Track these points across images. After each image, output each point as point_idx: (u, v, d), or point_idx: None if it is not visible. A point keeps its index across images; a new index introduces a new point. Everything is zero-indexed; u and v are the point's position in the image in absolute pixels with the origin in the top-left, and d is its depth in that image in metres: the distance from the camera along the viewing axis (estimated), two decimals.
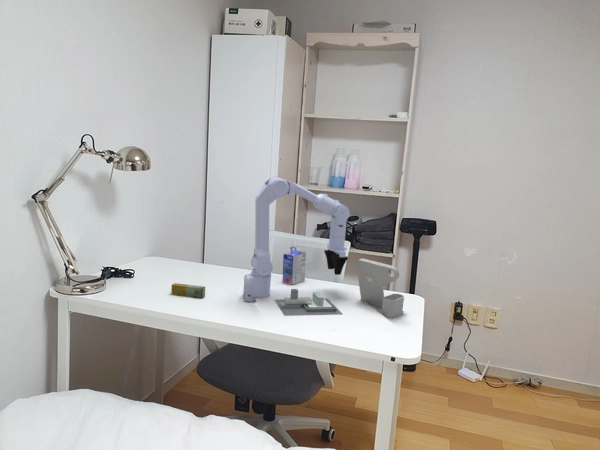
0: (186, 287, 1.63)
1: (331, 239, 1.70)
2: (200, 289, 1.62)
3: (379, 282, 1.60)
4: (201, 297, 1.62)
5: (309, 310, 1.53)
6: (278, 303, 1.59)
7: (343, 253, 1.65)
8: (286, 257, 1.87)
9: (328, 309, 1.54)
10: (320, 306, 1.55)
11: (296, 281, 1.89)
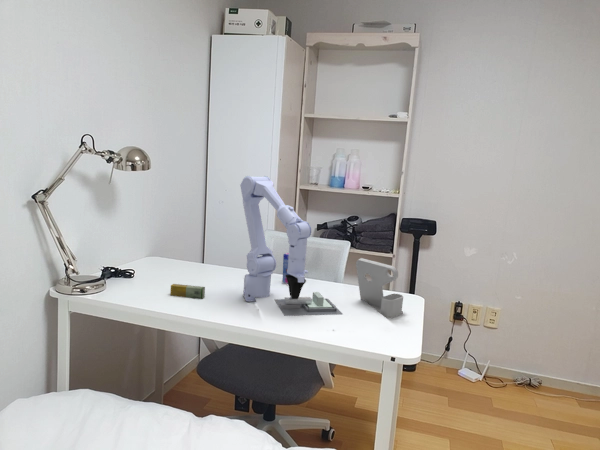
0: (186, 288, 1.62)
1: (290, 262, 1.52)
2: (200, 290, 1.62)
3: (378, 282, 1.61)
4: (201, 297, 1.62)
5: (309, 310, 1.53)
6: (278, 303, 1.59)
7: (302, 278, 1.48)
8: (286, 257, 1.87)
9: (328, 309, 1.54)
10: (320, 306, 1.55)
11: None
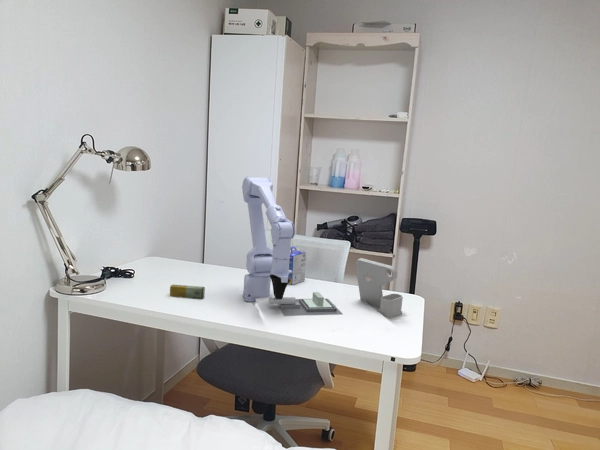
0: (185, 288, 1.62)
1: (273, 261, 1.51)
2: (201, 290, 1.62)
3: (377, 282, 1.61)
4: (201, 297, 1.62)
5: (309, 310, 1.53)
6: None
7: (285, 278, 1.46)
8: None
9: (328, 309, 1.54)
10: (320, 306, 1.55)
11: (296, 281, 1.89)
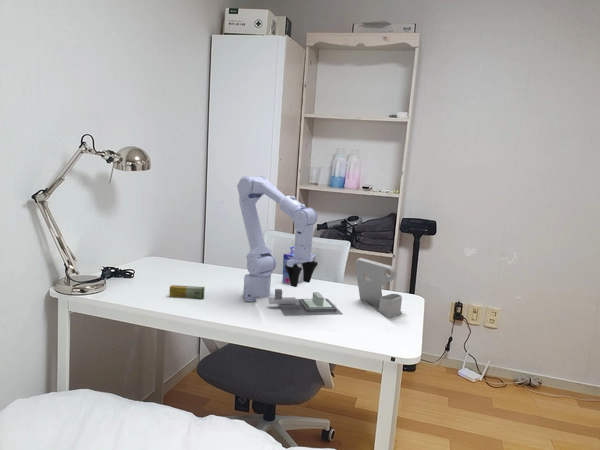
0: (185, 288, 1.61)
1: None
2: (201, 290, 1.61)
3: (377, 282, 1.61)
4: (202, 297, 1.62)
5: (309, 310, 1.53)
6: None
7: (289, 262, 1.48)
8: (286, 257, 1.87)
9: (328, 309, 1.54)
10: (320, 306, 1.55)
11: None
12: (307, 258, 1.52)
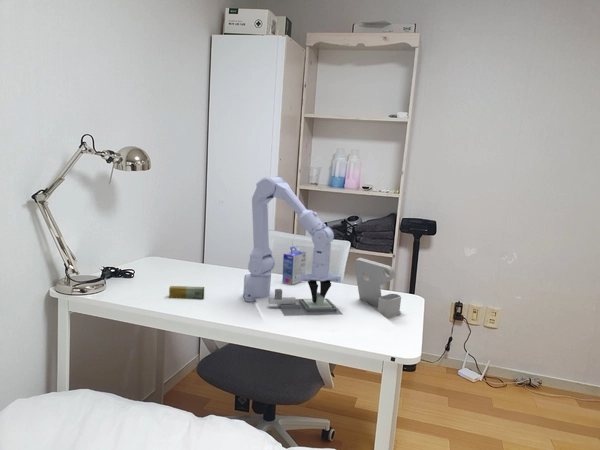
0: (185, 289, 1.61)
1: None
2: (201, 290, 1.61)
3: (376, 282, 1.61)
4: (202, 298, 1.62)
5: (309, 310, 1.53)
6: None
7: (299, 277, 1.55)
8: (286, 257, 1.87)
9: (328, 309, 1.54)
10: (320, 306, 1.55)
11: (296, 281, 1.89)
12: (319, 277, 1.54)
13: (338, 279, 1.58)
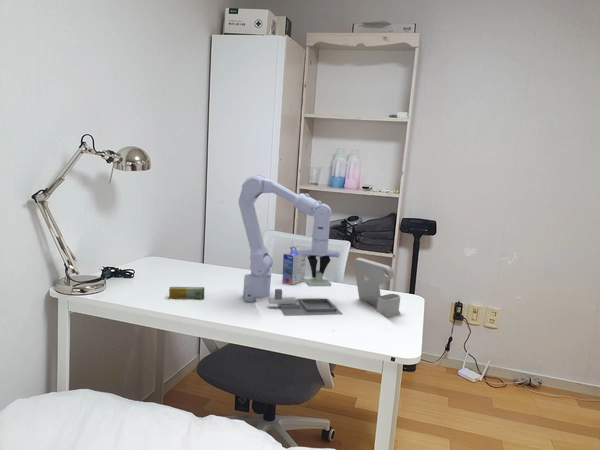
0: (186, 289, 1.60)
1: None
2: (201, 290, 1.61)
3: (375, 281, 1.61)
4: (202, 298, 1.62)
5: (309, 310, 1.53)
6: None
7: (299, 252, 1.60)
8: (286, 257, 1.87)
9: (328, 309, 1.54)
10: (319, 282, 1.60)
11: (296, 281, 1.89)
12: (319, 252, 1.59)
13: (337, 255, 1.63)
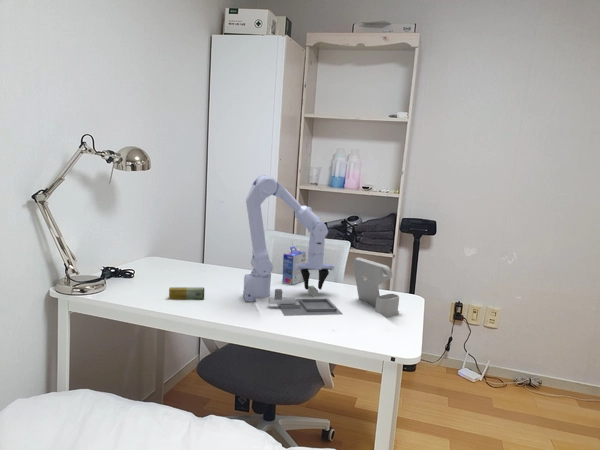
0: (186, 290, 1.60)
1: None
2: (202, 290, 1.61)
3: (374, 281, 1.61)
4: (202, 298, 1.61)
5: (309, 310, 1.53)
6: None
7: (296, 266, 1.69)
8: (286, 257, 1.87)
9: (328, 309, 1.54)
10: None
11: (296, 281, 1.89)
12: (314, 265, 1.68)
13: (332, 268, 1.72)
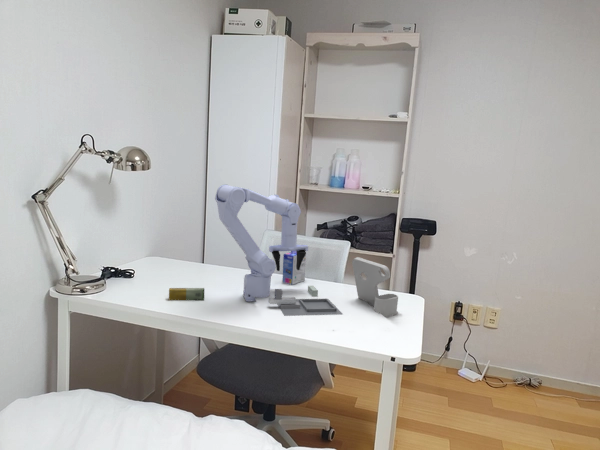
0: (186, 290, 1.59)
1: None
2: (202, 291, 1.60)
3: (372, 281, 1.61)
4: (203, 299, 1.61)
5: (309, 310, 1.53)
6: None
7: (269, 247, 1.70)
8: (286, 257, 1.87)
9: (328, 309, 1.54)
10: None
11: (296, 281, 1.89)
12: (288, 246, 1.69)
13: (306, 248, 1.72)
